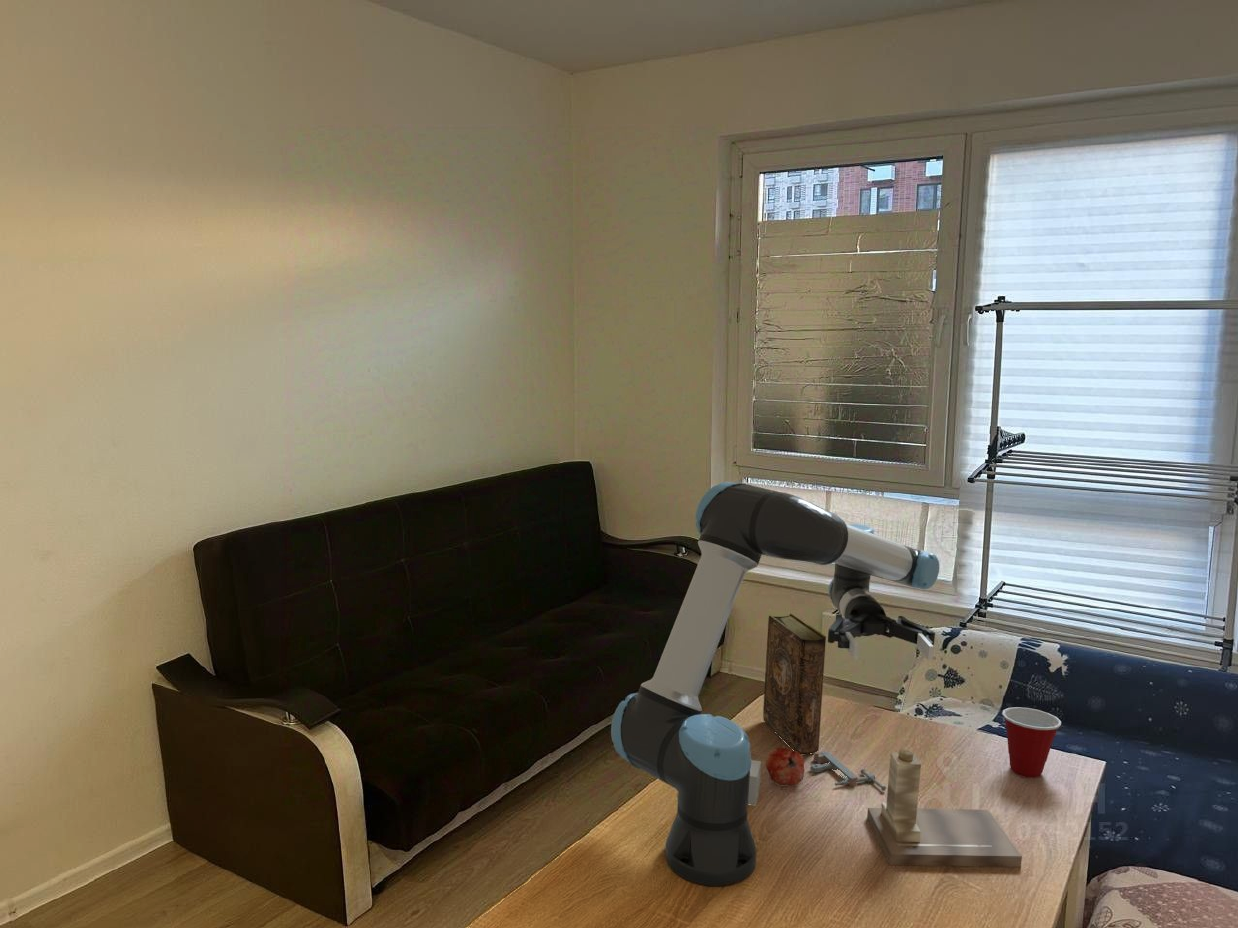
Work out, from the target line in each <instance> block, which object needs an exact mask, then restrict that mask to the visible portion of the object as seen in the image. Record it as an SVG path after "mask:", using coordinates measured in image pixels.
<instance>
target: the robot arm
mask: <svg viewBox="0 0 1238 928" xmlns="http://www.w3.org/2000/svg"><path fill="white" fill-rule="evenodd" d="M694 517H695V520H696V522H695V528H696V530H697V532H698V534H699V535H700V536H699V539H698V541H697V544H698V547H699V549H700V552H701V556H700V558H699V562H698V563H697V566H696V569H695V571H694V574H693V576H692V579H691V581H690V583H689V586H688V588H687V591H686V594H685V596H684V598H683V601H682V604H681V606H680V609H679V611H678V614H677V616H676V619H675V621H674V623H673V627H672V629H671V631H670V633H669V634H670V635H669V637H668V639H667V641H666V643H665V647H664V649H663V652H662V654H661V656H660V660H659V661H658V664H657V667H656V669H655V672H654V674H653V677H651V679H649V680H646V681H644V682H642V683H641V684H640V687H639V689H638V691H637V692H635V693H630V694H628V695H627V696H626V697H625V700H621V701H620V702H619V704H618V706H617V707H616V710H615V711H614V714H613V716H612V721H611V725H610V726H611V729H610V733H611V741H612V742H613V747H614V749H615V752H616V753H617V754H618V755H619V756H620V757H621V758H622V759H624V760H625V761H627V762H628V763H629V764H630V765H631V766H633V767H635V768H636V769H640V770H642V771H644V772H645V773H647V774H649V775H650V776H653V777H654V778H656V779H658V780H660V781H661V782H663V783H664V784H666V785H669V786H670V787H672V788H674V789H676V791H677V810H676V815H675V817H674V819H673V822H672V824H671V827H670V830H669V832H668V835H667V837H666V841H665V853H664V854H665V861H666V863H667V865H668V866H669V868H670V869H671V870H672V872H674V874H676V875H678V876H679V877H681V878H683V879H684V880H685V881H686V880H687V881H688V882H692V883H695V884H697V885H703V886H710V887H711V886H712V887H719V886H721V887H723V886H729V885H733V884H737V883H740V882H742V881H744V880H745V879H747V878H749V877H750V875H751V874H752V873H753V872H754V870H755V869H756V868H755V867H756V864H757V863H756V862H757V861H756V860H757V848H756V844H755V840H754V837H753V833H752V831H751V828H750V827H751V826H750V823H749V820H748V813H749V812H748V811H749V808H748V807H749V805H748V795H749V780H750V768H751V760H752V755H751V743H750V738H749V736H748V734H747V733H746V731H745V729H743V728H742V727H741V726H740V725H739V724H737V723H736V722H735V721H733V720H730V718H729V719H728V718H726V717H724V716H720V715H716V716H713V715H712V714H710V713H702V711H703V708H702V706H701V703H700V700H699V694H700V693H701V690H702V688H703V684H704V682H705V678H706V677H707V674H708V672H709V669H710V667H711V664H712V661H713V659H714V656H715V653H716V650H717V648H718V646H719V643H720V640H721V638H722V635H723V633H724V630H725V628H726V625H727V623H728V620H729V617H730V615H731V612H732V609H733V607H734V605H735V602H736V600H737V596H738V594H739V592H740V589H741V586H742V584H743V581H744V579H745V577H746V573H747V572H749V571H751V570H753V569H755V568H757V567H758V566H759V563H760V560H761V558H762V556H766V557H770V558H774V559H776V558H777V559H781V560H789V561H798V562H805V563H811V564H816V565H821V566H827V565H831V564H834V575H833V578H832V580H831V581H830V584H829V585H828V595H829V599H830V601H831V603H832V604H833V606H834V607H835V608H836V609H837V610H838V612H839V613H840V614H836V615H835V620H834V622H833V623H832V624H831V626H829V628H828V631H827V632H828V633H827V643H828V644H833V643H835V642H837V648H838V649H846V650H847V651H848V653H849V654H850V656H851V657H852V659H853V660H858V659H859V650H860V644H859V643H858V642H857V640H856V639H855V638H862V637H871V636H873V635H877V636H883V637H886V638H889V639H891V638H893V637H894V638H897V639H900V640H903V641H905V642H909V643H912V644H915V645H916V648H917V649H918V651H920V653H921V654H922V655H923V656H924V657H925V659H926V660H927V661H933V658H934V657H933V656H934V645H935V638H936V637H935V636H936V632H935V631H934V630H932V629H931V628H927V627H926V626H923V625H920V624H918V623H915V622H914V621H912V620H909V619H907V617H905V616H903V615H898V617H897V619H894V618H892V617H889V616H888V615H887V614H886V611H885V609H884V608H883V606H882V605H881V604H880V603H879V602H878V600H877V599H876V598H875V597H874V596H873V595H872V594H871V592H870V582H871V576H873V577H875V578H880V579H884V580H888V581H890V582H894V583H898V584H901V585H904V586H908V587H912V588H914V589H915V588H917V589H921V590H929V589H931V588H932V587H933V586H934V585H935V584H936V582H937V579H938V576H939V573H940V561H939V559H938V557H937V554H935V553H932V552H928V551H926V550H924V549H922V550H921V549H918V548H913V547H910V546H908V545H905V544H902V543H899V542H896V541H893V540H891V539H888V538H886V537H883V536H880V535H877V534H875V533H874V529H873V528H872V527H871V526H870V527H869V526H868V525H865V524H858V523H847V522H846V521H845V520H844V519H843V518H842V517H841V516H840V515H838V514H836V513H834V512H831V511H829V510H827V509H825V508H823V507H820V506H819V505H817V504H814V503H812V502H810V501H808V500H805V499H803V498H802V497H799V496H796V495H794V494H791V493H787V492H782V491H777V490H772V489H768V488H765V487H760V486H757V485H752V484H747V483H745V482H732V481H723V482H720V483H717V484H716V485H714V486H712V487H710V488H709V489H708V490H707V491H706V492H705V493H704V495H703V496H702V497H701V499H700V500H699V503H698V504H697V508H696V512H695V516H694Z"/></svg>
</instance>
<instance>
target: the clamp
mask: <svg viewBox="0 0 1238 928" xmlns="http://www.w3.org/2000/svg"><path fill="white" fill-rule="evenodd" d="M814 760H816V761H815V762H817V763H818V764H817V763H815V764H811V765H810V770H811V772H812V773H814V774H815V773H821V772H823V771H824V770H828V769H830V768H831V769H833V770H837V769H838V770H840V771H841V772H842V773H843V774H844V776H845V777H846V776H847V777H846V778H845V777H844V776H842V775H841V774H840V775H841V776H842V777H841V776H840V775H839V776H840V777H839V776H838V777H839V778H840V779H841V781H838V782H835V783H834V786H835V787H836V786H846V785H848V786H849V787H856V786H858V785H857V784H858V783H863V782H868V783H871V782H873V783H874V784H875V785H877V786H878V787H879V788H880V790H881V791H883V792H884V791H886V790H887V787H886V786H885V785H882V784H881V783H880V782H879V781H877V780H876V776H875V774H874V773H871V774H869V773H867V772H866V770H865V768H864V769H863V768H862V769H861V770H860V774H862V775H865V776H864V777H863V776H862V777H858V776H857V775H856V774H855V773H854V772H853V771H851V770H850V769H849V768H848V767H847V766H846V765H844V764H843V763H842V762H841V761H839V760H838V759H837V758H836V757H835V756H834V755H833V754H832V753H830V752H829V751H828V750H825V751H824V750H823V751H818V752H815V753H814V754H813V761H814ZM829 762H830V763H829ZM821 763H827V764H821ZM828 763H829V764H828ZM831 769H830V770H831ZM843 777H844V778H843Z"/></svg>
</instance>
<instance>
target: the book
mask: <svg viewBox="0 0 1238 928" xmlns="http://www.w3.org/2000/svg"><path fill="white" fill-rule="evenodd" d="M767 619H768V620H767V622H768V623H767V636H766V637H767V639H766V640H767V641H766V656H765V657H766V658H765V675H764V689H763V692H764V694H763V709H762V710H763V711H762V717H763V718H762V719H763V722H764V721H765V722H764V723H765V724H766V723H767V724H766V725H767V726H768V728H769V729H771V728H772V729H771V731H773V733H775V732H776V733H777V734H776V733H775V734H776V735H777V736H778V735H779V736H780V737H781V738H782V739H783V740H784V741H785V742H786V743H787V744H788V745H789V746H790V747H791V748H792V749H793V750H794V751H797V752H799V753H800V754H810V753H815V752H817V751H818V752H819V748H820V747H819V746H820V732H821V719H822V718H821V717H822V716H821V715H822V703H823V702H822V701H823V687H824V674H825V672H824V671H825V658H826V657H825V656H826V642H827V636H826V635H824V634H823V633H821V632H820V631H818V629H816V628H814V627H813V626H811V625H810V624H808V623H807V622H805V621H804V620H802V618H800V617H798V616H797V615H795V614H794V613H789V614H788V615H786V616H773V615H772V614H771V615H768V618H767ZM779 736H778V737H779ZM780 737H779V738H780ZM781 738H780V739H781ZM782 739H781V740H782ZM783 740H782V741H783ZM784 741H783V742H784ZM785 742H784V743H785ZM786 743H785V744H786ZM787 744H786V745H787ZM788 745H787V746H788ZM789 746H788V747H789ZM790 747H789V748H790ZM791 748H790V749H791ZM792 749H791V750H792ZM810 755H811V754H810Z"/></svg>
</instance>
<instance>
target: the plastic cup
mask: <svg viewBox="0 0 1238 928" xmlns="http://www.w3.org/2000/svg"><path fill="white" fill-rule="evenodd" d="M1001 714H1002V717H1003V718H1004V723H1005V729H1006V737H1007V739H1006V740H1007V750H1008V751H1007V752H1008V755H1009V756H1008V759H1009V766H1010V770H1011V772H1012V773H1014V774H1015V775H1017V776H1020V777H1022V778H1027V779H1036V778H1037V779H1038V778H1039V777H1041V775H1042V774H1043V773H1044V772H1043V771H1044V769H1045V765H1046V762H1047V760H1048V757H1049V753H1050V751H1051V748H1052V745H1053V741H1054V739H1055V737H1056V734H1057V731H1058V730H1059V728H1060V727H1061V725H1062V721H1061V720H1060V719H1059V718H1058V717H1057V716H1055V715H1053V714H1051V713H1049V712H1046V711H1042V710H1041V709H1035V708H1030V707H1019V706H1018V707H1017V706H1016V707H1008V708H1005V709H1003V710H1002V712H1001Z"/></svg>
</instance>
